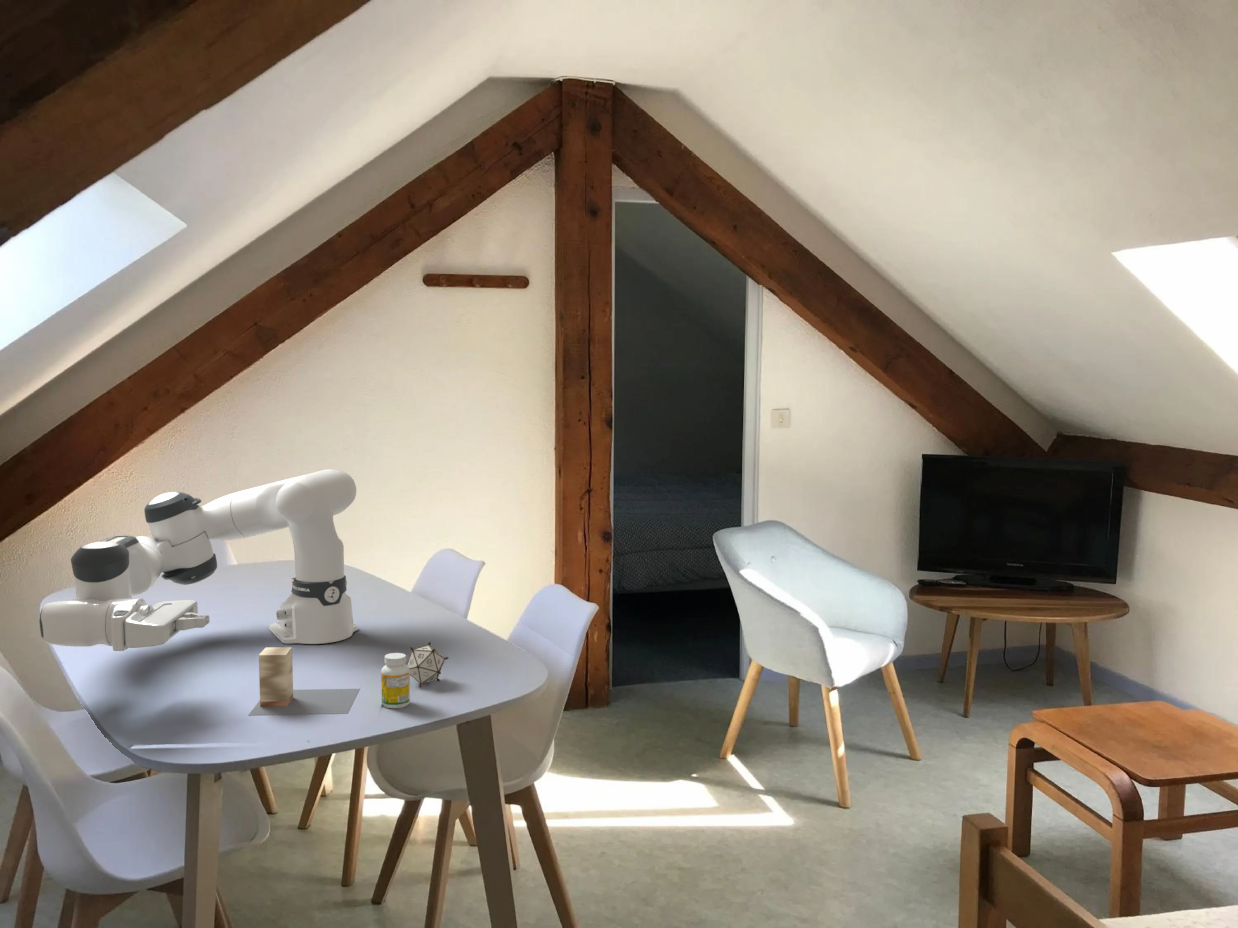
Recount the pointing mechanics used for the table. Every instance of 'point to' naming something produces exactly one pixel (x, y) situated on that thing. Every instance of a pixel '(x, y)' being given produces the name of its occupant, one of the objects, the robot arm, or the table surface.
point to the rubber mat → (312, 703)
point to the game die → (425, 664)
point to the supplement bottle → (395, 681)
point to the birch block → (276, 676)
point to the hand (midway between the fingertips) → (207, 620)
